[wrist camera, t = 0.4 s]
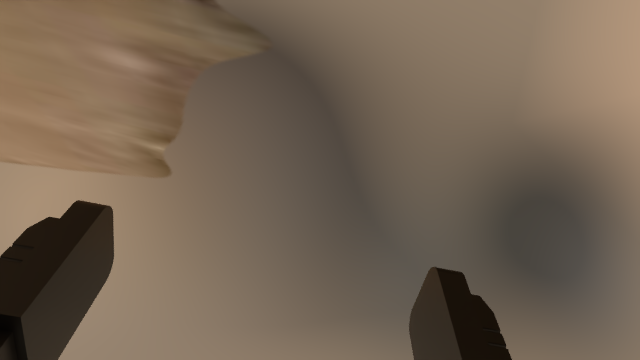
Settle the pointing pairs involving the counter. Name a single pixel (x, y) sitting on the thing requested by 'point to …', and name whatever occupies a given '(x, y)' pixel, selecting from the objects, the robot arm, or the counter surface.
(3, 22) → the counter surface
